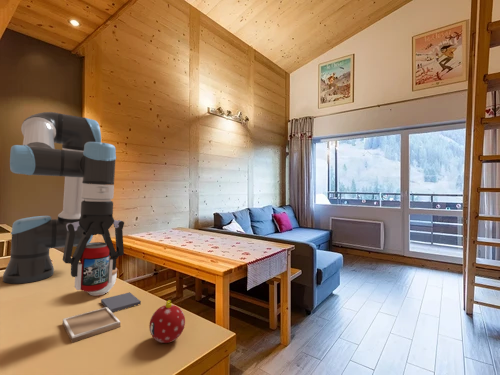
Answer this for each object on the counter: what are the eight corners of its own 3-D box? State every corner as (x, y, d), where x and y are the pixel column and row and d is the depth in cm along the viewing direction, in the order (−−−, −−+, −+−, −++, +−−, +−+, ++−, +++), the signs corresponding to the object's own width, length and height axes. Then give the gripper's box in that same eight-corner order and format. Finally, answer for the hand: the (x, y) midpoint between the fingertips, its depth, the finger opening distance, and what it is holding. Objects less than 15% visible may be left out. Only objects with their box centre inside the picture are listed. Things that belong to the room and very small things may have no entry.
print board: (62, 324, 71) (62, 318, 71) (106, 311, 78) (107, 306, 78) (72, 342, 63) (72, 336, 63) (120, 326, 71) (120, 321, 71)
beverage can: (86, 295, 66) (89, 248, 66) (73, 289, 69) (76, 244, 69) (112, 287, 72) (115, 244, 72) (99, 282, 75) (101, 240, 75)
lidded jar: (100, 300, 85) (102, 271, 85) (73, 296, 88) (74, 268, 88) (122, 288, 96) (124, 262, 96) (97, 284, 98) (99, 259, 98)
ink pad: (100, 302, 84) (101, 299, 84) (129, 295, 90) (129, 292, 90) (110, 312, 78) (110, 309, 78) (140, 304, 84) (140, 301, 84)
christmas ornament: (190, 341, 66) (192, 302, 66) (158, 355, 60) (160, 312, 60) (173, 327, 72) (175, 291, 72) (142, 338, 66) (144, 299, 66)
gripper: (55, 201, 61) (50, 299, 61) (140, 201, 75) (136, 280, 75) (50, 199, 66) (45, 289, 66) (129, 199, 80) (126, 273, 80)
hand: (93, 284), depth 71 cm, fingers closed on beverage can, 7 cm apart
